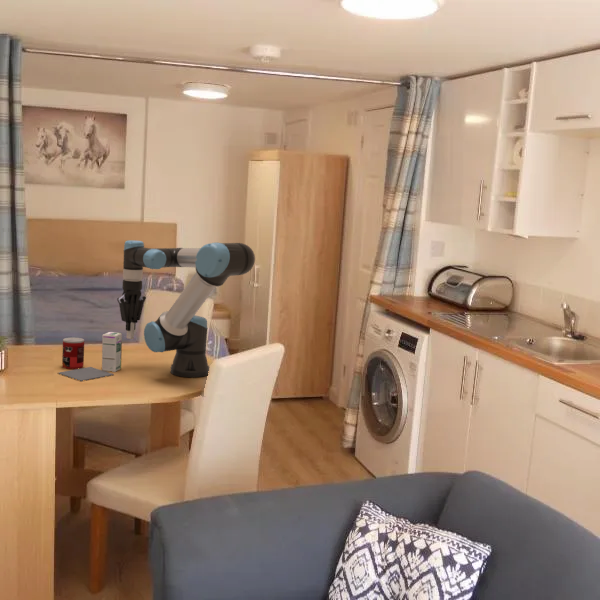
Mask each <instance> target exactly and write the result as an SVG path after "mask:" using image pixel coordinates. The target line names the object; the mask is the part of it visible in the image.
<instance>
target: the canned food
mask: <svg viewBox="0 0 600 600" xmlns="http://www.w3.org/2000/svg"><path fill="white" fill-rule="evenodd" d="M61 357H62V360H61V361H62V368H63V369H67V370H75V369H78V368H80V369H81V368H84V364H85V362H84V361H85V360H84V358H85V339H84V338H81V337H65V338H63V339H62V356H61Z"/></svg>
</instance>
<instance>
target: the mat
mask: <svg viewBox="0 0 600 600" xmlns="http://www.w3.org/2000/svg"><path fill="white" fill-rule="evenodd" d="M58 373H59V374H58V375H60V374H62V375H61V376H63V375H65V376H64V377H66V376H68V377H67V378H69V377H71V378H70V379H72V378H74V379H73V380H75V379H77V380H76V381H78V380H80V381H79V382H84V381H83V380H86V381H90V380H89V379H92V380H96V379H95V378H97V379H101V378H100V377H102V378H106V377H105V376H107V377H111V375H112V376H114V375H115V374H114V373H113V372H112V373H111V372H110V371H103V370H102V369H99V368H95V367H93V366H86V367H82V368H80V369H69V370H66V371H65V370H64V371H59V372H58Z"/></svg>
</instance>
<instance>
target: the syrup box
mask: <svg viewBox="0 0 600 600" xmlns="http://www.w3.org/2000/svg"><path fill="white" fill-rule="evenodd" d="M122 341H123V334H122V333H121V332H118V331H117V332H116V331H108V332H106V333H104V334H102V349H101V370H102V371H106V372H110V371H112V373H116V372H117V371H119V370H121V369H122V355H123V354H122V351H123V350H122V347H123V346H122V344H123V342H122Z"/></svg>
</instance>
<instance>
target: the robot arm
mask: <svg viewBox="0 0 600 600" xmlns="http://www.w3.org/2000/svg"><path fill="white" fill-rule="evenodd" d="M123 247H124V248H123V263H122V264H123V269H122V270H123V271H122V279H123V280H122V290H123V291H122V295H121V296H120V297H118V298H117V299H116V300H117V302H118V305H119V311H120V319H121V321H122V322H124V323H125V331H126V339H128V340H134V339H135V330H136V325H137V323H138V322H139V321H140V320H141V317H142V312H143V307H144V303H145V301H146V299H147V296H145V295H142V289H143V281H142V280H143V275H144V273H143V272H144V268H147V269H151V270H161V269H162V268H164V269H165V268H195V274H194V275H193V276H192V278H191V279H190V280H189V282H188V283H187V285H186V286H185V287H184V289H183V290H182V291H181V293H180V294H179V296H178V297H177V299H176V300H175V301H174V302H173V304H172V305H171V307H170V308H169V310H166V311H163V312H162V313H161V314H160V315H159V316H158V318H157V319H156V320H155V321H152V320H151V321H149V322H148V323H146V325H145V327H144V328H143V336H144V337H143V338H144V341H145V344H146V346H147V347H148V349H149V351H151V352H154V353H164V352H170V351H175V355H174V357H173V360H172V364H171V365H170V374H172V375H174V376H178V377H183V378H201V377H206V376H208V375H209V374H208V371H209V372H210V366H209V365H208V364H209V362H208V359H207V355H206V354H207V353H206V351H207V336H208V319H206V317H204V316H199V315H196V314H197V312H198V311H199V310H200V309H201V308H202V306H203V304H204V303H205V302H206V300H207V299H208V298H209V296H210V295H211V294H212V293H213V292H214V290H215V288H219V287H221V286H223V285H224V284H225V282H226V281H227V280H228V278H230V277H232V276H242V275H245V274H248V273H249V272H251V270H252V269H253V267H254V265H255V264H256V263H255V262H256V256H255V253H254V251H253V249H252V247H250V246H249V245H248V244H246V243H242V242H212V243H211V242H210V243H206V244H204V245H203V246H201V247H198V248H197V247H169V248H167V247H164V248H163V247H162V248H161V247H160V248H159V247H158V248H156V247H155V248H148V247H145V243H144V241H142V240H136V239H135V240H134V239H133V240H131V239H130V240H126V241H125V242H124V245H123ZM207 374H208V375H207Z"/></svg>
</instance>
